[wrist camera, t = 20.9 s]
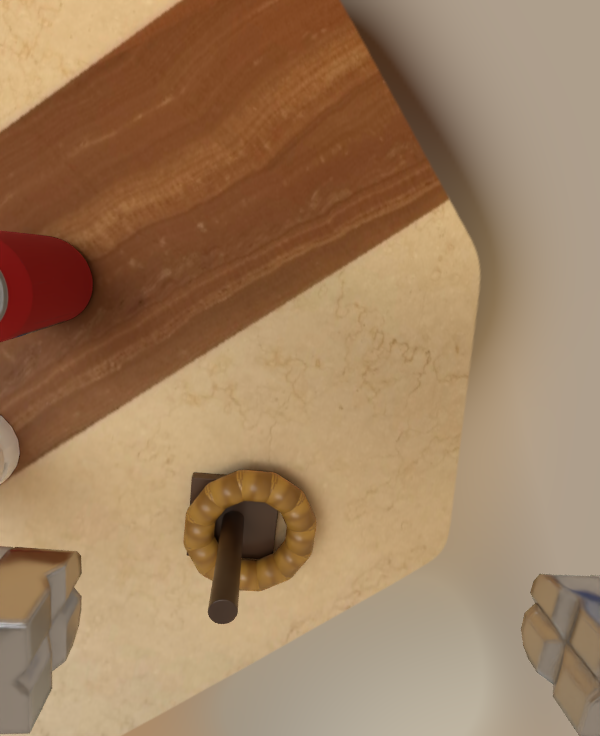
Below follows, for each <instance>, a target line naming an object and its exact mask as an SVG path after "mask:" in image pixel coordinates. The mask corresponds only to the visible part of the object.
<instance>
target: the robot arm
mask: <svg viewBox="0 0 600 736" xmlns="http://www.w3.org/2000/svg"><path fill="white" fill-rule="evenodd" d="M81 573H82V572H81V555H80V554H79V553H78V552H77V551H65V550H51V549H36V548H22V547H15V548H13V547H4V546H0V734H22V733H30V732H31V730H32V728H33V726H34V724H35V722H36V720H37V718H38V716H39V714H40V712H41V709H42V707H43V705H44V703H45V701H46V699H47V697H48V695H49V693H50V691H51V689H52V671H53V670H54V669H56V668H57V667H58V666H60V665H61V664H62V663H64V662H65V661H66V659H67V656H68V654H69V652H70V650H71V648H72V646H73V643H74V640H75V636H76V633H77V630H78V626H79V621H80V614H81V595H80V594H79V593H78V592H77V590H76V589H75V588H74V586H75V584H76V582H77V581H78V579H79V577H80V575H81ZM530 593H531V595H532V597H533V599H534V601H535V604H534V605H533V606H532V607H531V608H530V609H529V610H527V611H526V612H525V614H524V618H523V623H522V627H521V632H522V640H523V646H524V649H525V651H526V654H527V657H528V659H529V661H530V662H531V664H532V665H533V667H534V668H535V670H536V672H537V673H539V674H540V675H541V676H543V677H544V678H546V679H547V680H548V681H549V682H551V683H552V684H553V697H554V699H555V700H556V702H557V703H558V705H559V706H560V708H561V709H562V711H563V712H564V713H565V715H566V717H567V718H568V720H569V721H570V723H571V724H572V726H573V727H574V729H575V730H576V732H577V733H578V735H579V736H600V575H591V576H574V575H551V574H539V576H538V577H537V578H536V579H535V580H534V582H533V585H532V588H531V592H530Z"/></svg>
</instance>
